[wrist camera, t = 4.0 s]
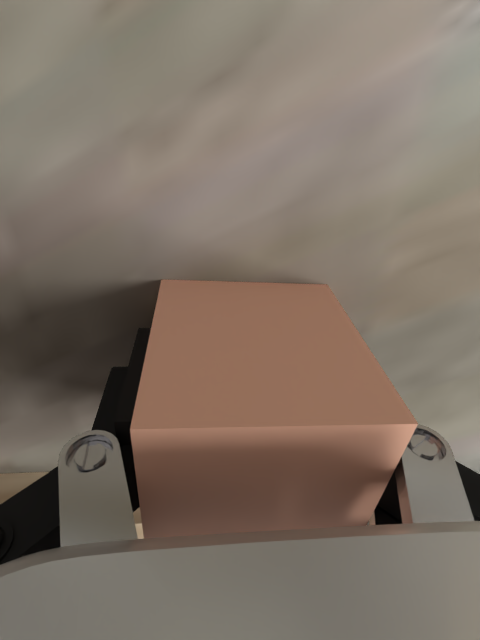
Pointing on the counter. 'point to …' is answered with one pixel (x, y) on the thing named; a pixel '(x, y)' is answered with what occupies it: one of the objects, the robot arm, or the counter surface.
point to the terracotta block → (260, 412)
